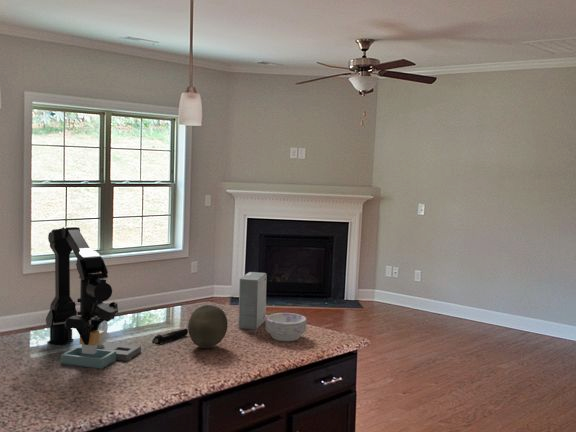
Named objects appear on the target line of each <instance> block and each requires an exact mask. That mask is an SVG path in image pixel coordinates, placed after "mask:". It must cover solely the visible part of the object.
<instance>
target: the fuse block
mask: <svg viewBox="0 0 576 432" xmlns="http://www.w3.org/2000/svg"><path fill="white" fill-rule="evenodd" d="M80 347H82V345H81V346H80ZM97 349H102V350H111V351H116V359H117V360H116V361H123V360H124V361H123V362H128V361H129V360H130V358H131V359H132V358H134V357H135V356H137V355H139V354H140V353H141V351H142V347H141V345H136V344H135V345H134V344H126V343H118V342H109V341H105V343H103V344H102V347H100V348H97ZM133 356H134V357H133ZM127 360H128V361H127Z"/></svg>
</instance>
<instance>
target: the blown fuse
mask: <svg viewBox="0 0 576 432" xmlns="http://www.w3.org/2000/svg"><path fill="white" fill-rule="evenodd" d="M98 343H99V331H97V330H90V337H89V343H88V345H85V344H84V342H83V340H82V339H81V337H80V336H79V345H81V346H82V353H86V354H95V353H97V344H98Z"/></svg>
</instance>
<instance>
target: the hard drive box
mask: <svg viewBox="0 0 576 432" xmlns="http://www.w3.org/2000/svg"><path fill="white" fill-rule="evenodd" d="M267 280H268V279H267V273H266V272H257V271H256V272H255V271H249V272H247V273H246V274H245V275H243V276H242V277H240V279H239V287H238V288H239V292H238V294H239V295H238V299H239V300H238V322H237V323H238V324H237V325H238V326H237V327H238V329H243V330H244V329H246V330H255V331H256V330H257V329H259V328H260V326H261V325H262V324H263V323H265V322H266V317H267Z"/></svg>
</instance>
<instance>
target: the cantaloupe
mask: <svg viewBox="0 0 576 432" xmlns="http://www.w3.org/2000/svg"><path fill="white" fill-rule="evenodd" d="M187 329H188V335H189V338H190V339H191V342H192V343H193V344H195V346H197V347H199V348H201V349H211V348H213V347H215V346H216V345H218V344H220V343H221V342H222V340H224V337H226V334H227V331H228V319H227V315H226V313H225V311H224V310H223V309H221V308H220V307H218V306H216V305H212V304H205V305H202V306H200V307H197V308H196V309H195V310H194V311H193V312H192V313H191V315H190V317H189V320H188V325H187Z"/></svg>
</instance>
